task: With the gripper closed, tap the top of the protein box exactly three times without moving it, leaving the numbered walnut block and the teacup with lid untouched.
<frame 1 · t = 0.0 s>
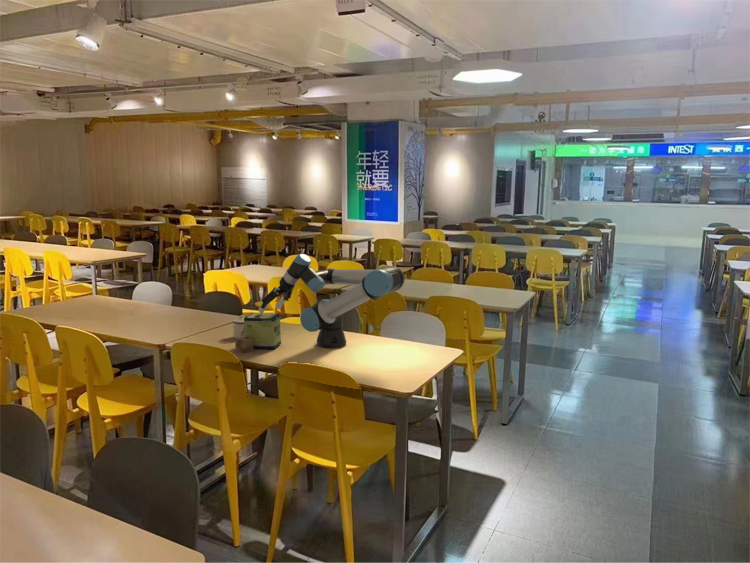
hand: (269, 310, 290), 17 cm above the table, tool tilted 40°, fingers open, 13 cm apart
protein box: (263, 346, 284), on the table, touching gripper
numbered walnut block: (244, 350, 276), on the table
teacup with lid: (244, 336, 302), on the table
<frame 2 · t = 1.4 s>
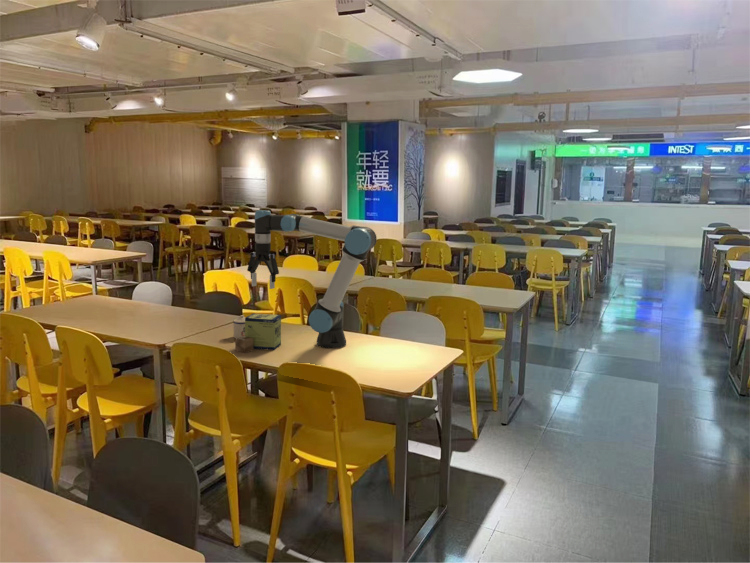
hand: (263, 287, 279), 30 cm above the table, tool pointing down, fingers open, 11 cm apart
protein box: (263, 346, 284), on the table
everything else where it was.
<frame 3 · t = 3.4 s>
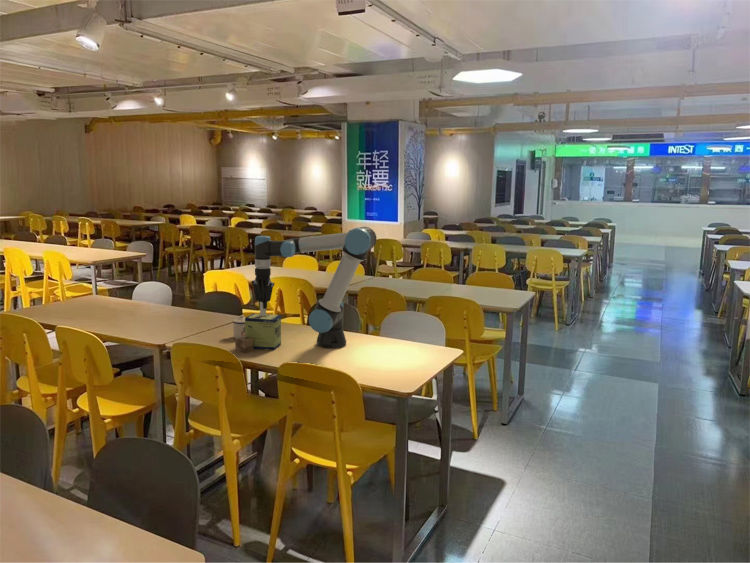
hand: (263, 314, 281), 16 cm above the table, tool pointing down, fingers closed
nothing on the table moved.
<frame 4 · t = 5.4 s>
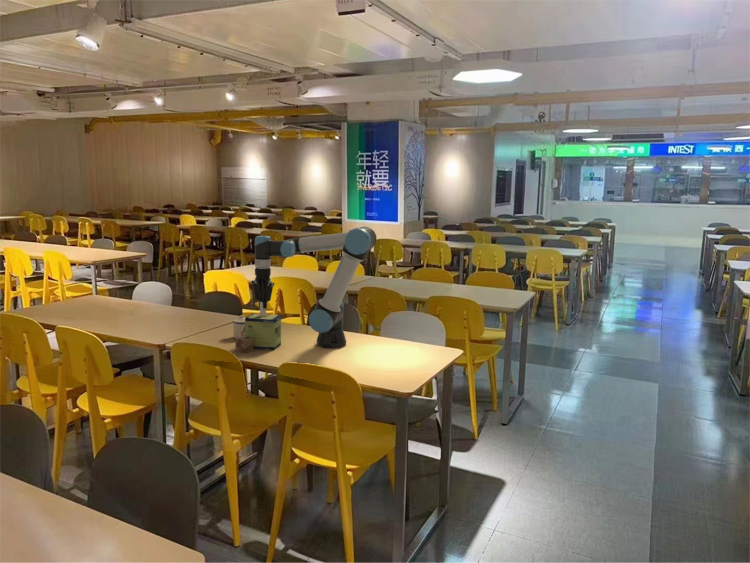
hand: (263, 314, 281), 16 cm above the table, tool pointing down, fingers closed
nothing on the table moved.
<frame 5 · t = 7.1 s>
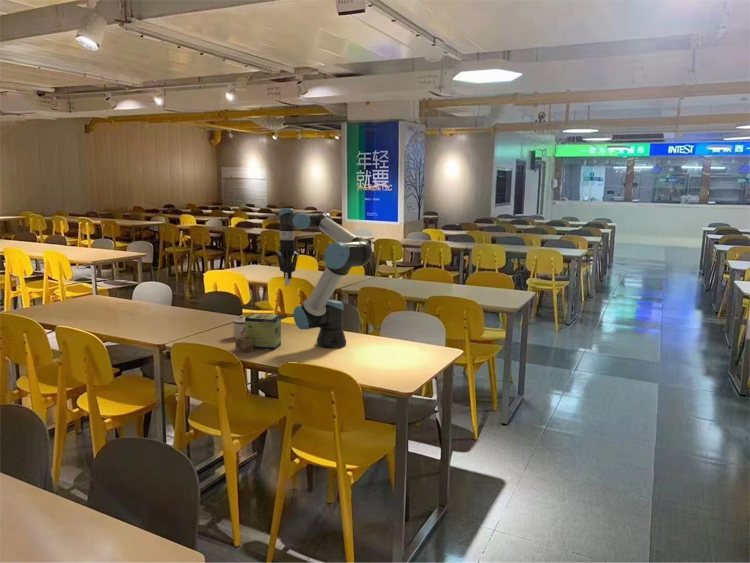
hand: (287, 285, 291), 29 cm above the table, tool pointing down, fingers closed
nothing on the table moved.
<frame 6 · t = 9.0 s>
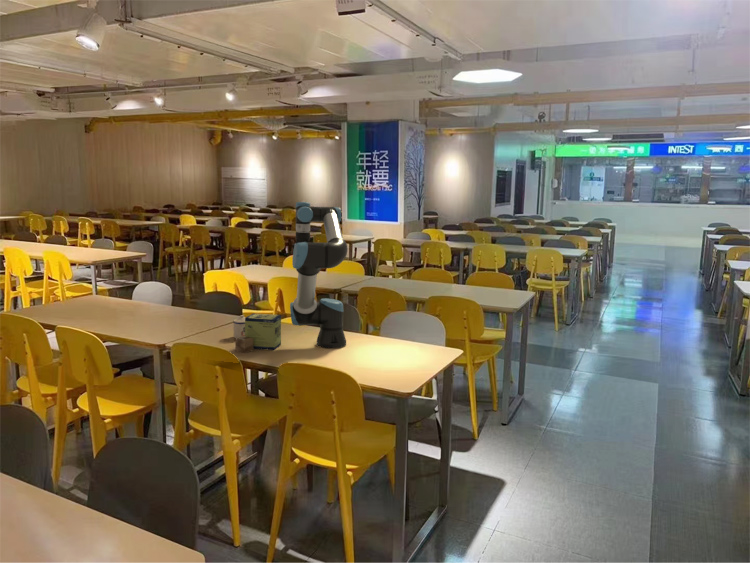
hand: (302, 276, 300), 32 cm above the table, tool pointing down, fingers closed
nothing on the table moved.
at the end: protein box moved 0.3 cm from its start; protein box tilted 0°; numbered walnut block moved 0.4 cm from its start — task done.
